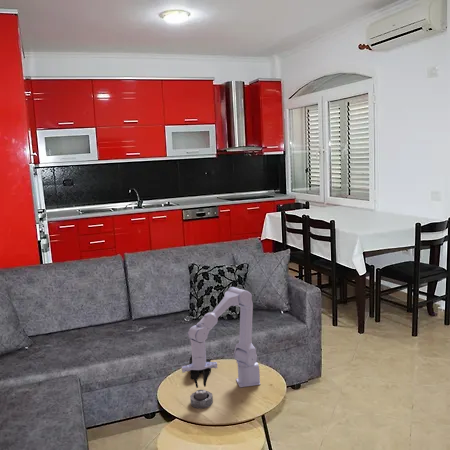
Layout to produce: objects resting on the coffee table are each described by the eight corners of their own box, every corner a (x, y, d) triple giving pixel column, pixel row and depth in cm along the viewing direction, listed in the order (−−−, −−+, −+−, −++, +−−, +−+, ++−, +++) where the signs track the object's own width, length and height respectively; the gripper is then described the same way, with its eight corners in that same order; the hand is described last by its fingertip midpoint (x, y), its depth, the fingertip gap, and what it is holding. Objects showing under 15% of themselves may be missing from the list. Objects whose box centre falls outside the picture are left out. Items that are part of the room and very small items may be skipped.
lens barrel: (210, 396, 199) (210, 389, 198) (214, 406, 190) (213, 399, 189) (189, 399, 197) (189, 392, 197) (192, 409, 188) (191, 403, 188)
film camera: (210, 380, 213) (208, 361, 212) (189, 380, 214) (187, 362, 212) (211, 365, 228) (210, 348, 227) (192, 366, 229) (191, 348, 227)
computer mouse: (206, 397, 196) (206, 388, 196) (208, 403, 191) (207, 393, 191) (195, 399, 196) (194, 389, 195) (195, 405, 191) (195, 395, 190)
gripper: (214, 348, 196) (216, 379, 198) (180, 353, 193) (182, 383, 195) (217, 355, 189) (219, 387, 191) (181, 360, 186) (184, 392, 188)
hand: (200, 386), depth 192 cm, fingers open, 3 cm apart
